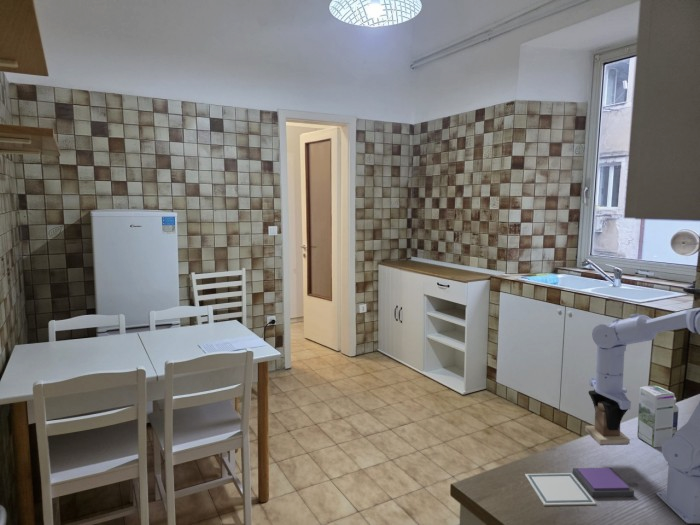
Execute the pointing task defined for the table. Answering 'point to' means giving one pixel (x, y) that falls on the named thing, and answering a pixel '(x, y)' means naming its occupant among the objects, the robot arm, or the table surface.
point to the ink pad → (602, 482)
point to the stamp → (605, 430)
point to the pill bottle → (675, 417)
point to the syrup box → (655, 415)
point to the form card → (559, 489)
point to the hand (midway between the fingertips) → (607, 424)
